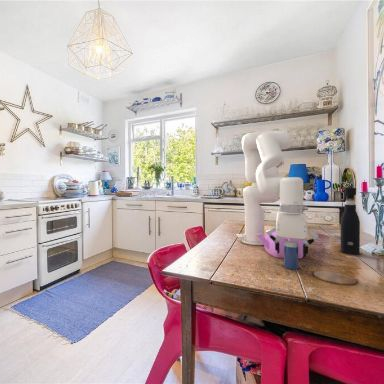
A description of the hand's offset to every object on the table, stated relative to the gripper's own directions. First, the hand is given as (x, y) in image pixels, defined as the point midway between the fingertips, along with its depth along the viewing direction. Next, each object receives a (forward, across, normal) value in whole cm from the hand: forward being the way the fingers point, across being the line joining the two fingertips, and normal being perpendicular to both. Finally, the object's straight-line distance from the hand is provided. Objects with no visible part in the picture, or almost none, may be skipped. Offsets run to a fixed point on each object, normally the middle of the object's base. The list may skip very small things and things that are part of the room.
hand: (291, 253), depth 91 cm
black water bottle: (+6, -24, -35) cm, 43 cm away
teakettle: (+6, +3, -19) cm, 20 cm away
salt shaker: (+5, 0, 0) cm, 5 cm away
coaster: (+5, -12, +5) cm, 14 cm away
